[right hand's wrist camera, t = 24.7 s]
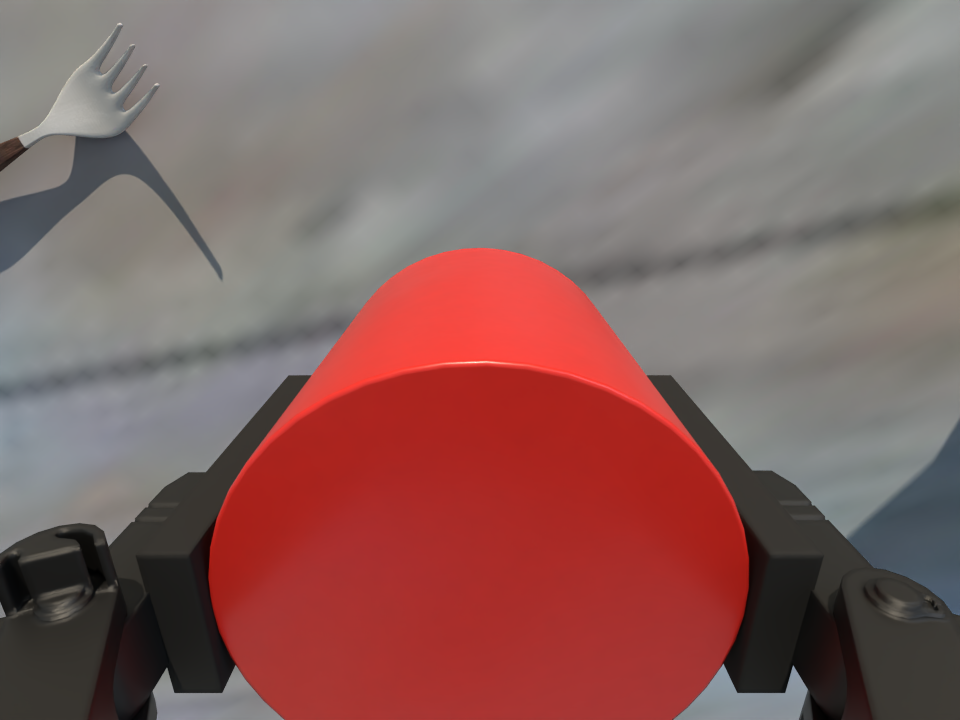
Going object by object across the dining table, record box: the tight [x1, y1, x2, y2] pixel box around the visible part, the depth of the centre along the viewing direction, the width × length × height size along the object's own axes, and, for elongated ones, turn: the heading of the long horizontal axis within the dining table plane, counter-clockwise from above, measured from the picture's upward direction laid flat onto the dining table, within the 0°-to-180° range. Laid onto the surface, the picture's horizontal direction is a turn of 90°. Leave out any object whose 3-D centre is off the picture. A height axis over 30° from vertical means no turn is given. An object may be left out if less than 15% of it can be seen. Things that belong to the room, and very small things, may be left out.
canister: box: [209, 248, 749, 720], centre depth 12 cm, size 8×8×9 cm
